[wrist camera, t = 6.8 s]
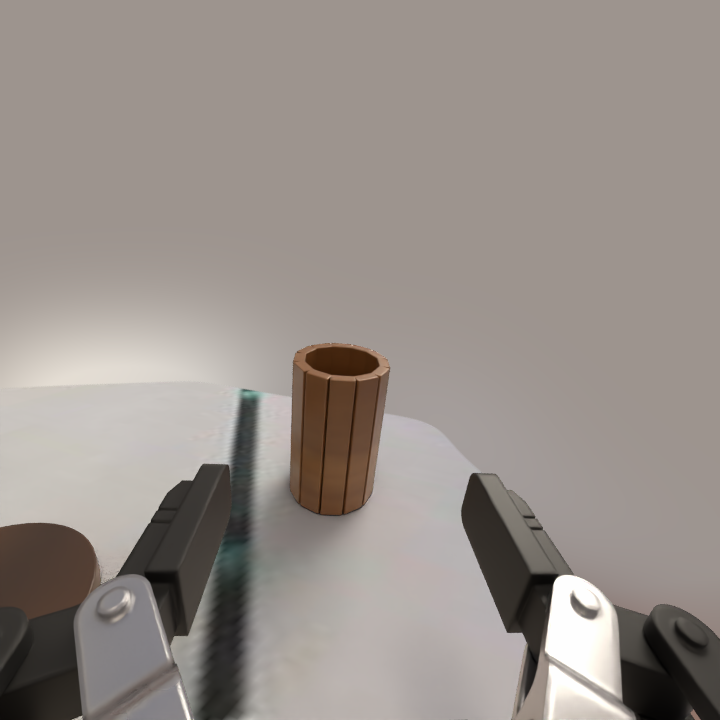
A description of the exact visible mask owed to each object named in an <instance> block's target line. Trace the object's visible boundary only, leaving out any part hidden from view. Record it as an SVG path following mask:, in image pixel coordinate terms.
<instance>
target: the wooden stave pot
mask: <svg viewBox="0 0 720 720" xmlns="http://www.w3.org/2000/svg"><path fill="white" fill-rule="evenodd" d="M389 372H390V366H389V363H388V360H387V359H386V358H385V357H384V356H382V355H380V354H379V353H377V352H376V351H374V350H373V351H371V349H368V348H364V347H360V346H356V345H353V346H352V345H351V344H339V343H332V344H330V343H325V344H318V345H311V346H307V347H305V348H303V349H301V350H299V351H297V353H296V354H295V357H294V360H293V385H292V423H291V461H290V491H291V492H292V494H293V496H294V497H295V499H296V501H297V502H298V504H300V503H301V506H303V507H305V508H307V509H309V510H311V511H313V512H315V513H317V514H318V513H319V512H320V514H321V515H342V512H343V513H344V514H347V513H349V512H351V511H353V510H356V509H358V508H360V507H361V506H362V505H364V504H365V502H366V501H367V499H368V498H369V496H370V495H371V493H372V490H373V483H374V476H375V469H376V462H377V455H378V448H379V441H380V434H381V428H382V421H383V414H384V407H385V400H386V393H387V386H388V379H389Z"/></svg>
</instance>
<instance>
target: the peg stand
mask: <svg viewBox="0 0 720 720" xmlns="http://www.w3.org/2000/svg"><path fill="white" fill-rule="evenodd" d="M100 583H101V577H100V569H99V565H98V561H97V558H96V555H95V551H94V548H93V546H92V545H91V543H90V542H89V540H88V539H87V538H86V537H85V536H84V535H83V534H81V533H79V532H78V531H76V530H74V529H72V528H69V527H66V526H63V525H58V524H51V523H26V524H17V525H11V526H5V527H0V607H17V608H20V609H22V610H23V611H24V612H25V614H26V616H27V618H28V620H29V619H32V618H35V617H39V616H42V615H46V614H49V613H53V612H56V611H59V610H63V609H66V608H70V607H73V606H75V605H78V604H80V603H82V602H83V601H84V600H85V598H86V597H87V596H88V595H89V594H90V593H91V592H92V591H94V590H95V589H96V588H97V587H99V586H100Z"/></svg>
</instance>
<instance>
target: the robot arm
mask: <svg viewBox="0 0 720 720" xmlns="http://www.w3.org/2000/svg"><path fill="white" fill-rule="evenodd" d="M230 512H231V486H230V470H229V466H228V465H225V464H203V465H202V466H201V467H200V469H199V471H198V473H197V474H196V476H195V478H194V480H193V481H183V480H182V481H181V482H180V483H179V484H178V485H176V486H175V487H174V488H173V489H172V490H170V491H169V492H168V493H167V495H166V496H165V498H164V500H163V501H162V503H161V504H160V506H159V509H158V511H156V513H155V514H154V516H153V518H152V519H151V523H149V524H148V526H147V527H146V529H145V531H144V532H143V534H142V536H141V537H140V539H139V540H138V542H137V544H136V545H135V547H134V549H133V550H132V552H131V554H130V555H129V557H128V558H127V560H126V562H125V563H124V565H123V567H122V568H121V570H120V572H119V573H118V574H117V576H116V577H115V578H113V579H111V580H109V581H107V582H105V583H103V584H102V585H100V586H99V587H97V588H96V589H95V590H94V591H92V592H91V593H90V594H89V595H88V596H87V597H86V598H85V600H84V601H83V602H82V603H80V604H78V605H75V606H73V607H70V608H66V609H63V610H59V611H56V612H53V613H49V614H46V615H42V616H39V617H35V618H32V619H29V620H28V618H27V616H26V614H25V612H24V611H23V610H22V609H20V608H17V607H0V720H72V719H74V718H77V717H79V716H82V715H83V720H194V717H193V714H192V710H191V707H190V704H189V701H188V698H187V694H186V691H185V688H184V685H183V681H182V678H181V675H180V672H179V669H178V667H177V664H175V662H174V659H173V656H172V653H171V650H170V645H171V642H172V640H173V637H174V636H188V634H189V632H190V629H191V626H192V623H193V620H194V618H195V615H196V612H197V609H198V606H199V603H200V601H201V598H202V595H203V592H204V589H205V586H206V584H207V581H208V578H209V575H210V572H211V569H212V567H213V564H214V561H215V558H216V555H217V553H218V550H219V547H220V544H221V541H222V538H223V536H224V533H225V530H226V527H227V524H228V521H229V517H230ZM461 516H462V523H463V526H464V529H465V531H466V534H467V536H468V539H469V541H470V544H471V546H472V548H473V551H474V553H475V556H476V558H477V561H478V563H479V565H480V568H481V570H482V573H483V575H484V578H485V580H486V582H487V585H488V587H489V590H490V592H491V595H492V597H493V599H494V602H495V604H496V607H497V609H498V612H499V614H500V616H501V619H502V621H503V624H504V626H505V629H506V631H507V633H523V635H524V637H525V639H526V642H527V644H526V646H525V649H524V653H523V659H522V664H521V670H520V675H519V681H518V686H517V692H516V697H515V702H514V708H513V713H512V719H511V720H695V719H694V718H693V717H692V715H691V713H690V712H691V711H692V710H693V709H694V710H695V712H696V713H697V715H698V716H699V718H700V719H701V720H720V639H719V638H718V637H717V635H715V633H714V632H713V631H712V630H711V629H710V628H709V627H708V626H706V625H705V624H704V623H703V622H701V621H700V620H699V619H697V618H696V617H694V616H693V615H691V614H690V613H688V612H686V611H684V610H682V609H680V608H677V607H675V606H672V605H666V604H660V605H657V606H655V607H654V609H653V610H652V611H651V613H650V615H649V616H647V615H644V614H641V613H637V612H635V611H631V610H628V609H625V608H622V607H619V606H615V605H613V604H612V603H611V602H610V601H609V599H608V598H607V597H606V596H605V595H604V594H603V593H602V592H601V591H600V590H599V589H598V588H597V587H595V586H594V585H592V584H591V583H589V582H588V581H586V580H584V579H582V578H579V577H576V576H575V575H574V574H573V572H572V571H571V569H570V568H569V566H568V565H567V563H566V562H565V560H564V559H563V557H562V556H561V554H560V553H559V551H558V550H557V548H556V547H555V545H554V544H553V542H552V541H551V539H550V538H549V536H548V535H547V533H546V532H545V531H544V530H543V527H542V526H541V524H540V523H539V521H538V520H537V519H535V515H534V514H533V512H532V511H531V509H530V508H529V506H528V505H527V503H526V502H525V501H524V500H523V499H522V498H520V497H519V496H518V495H517V494H516V493H515V492H514V491H512V490H506V488H505V487H504V485H503V483H502V482H501V480H500V479H499V477H498V476H497V475H496V474H485V473H473V474H471V476H470V479H469V482H468V486H467V490H466V493H465V497H464V501H463V505H462V510H461Z"/></svg>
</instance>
